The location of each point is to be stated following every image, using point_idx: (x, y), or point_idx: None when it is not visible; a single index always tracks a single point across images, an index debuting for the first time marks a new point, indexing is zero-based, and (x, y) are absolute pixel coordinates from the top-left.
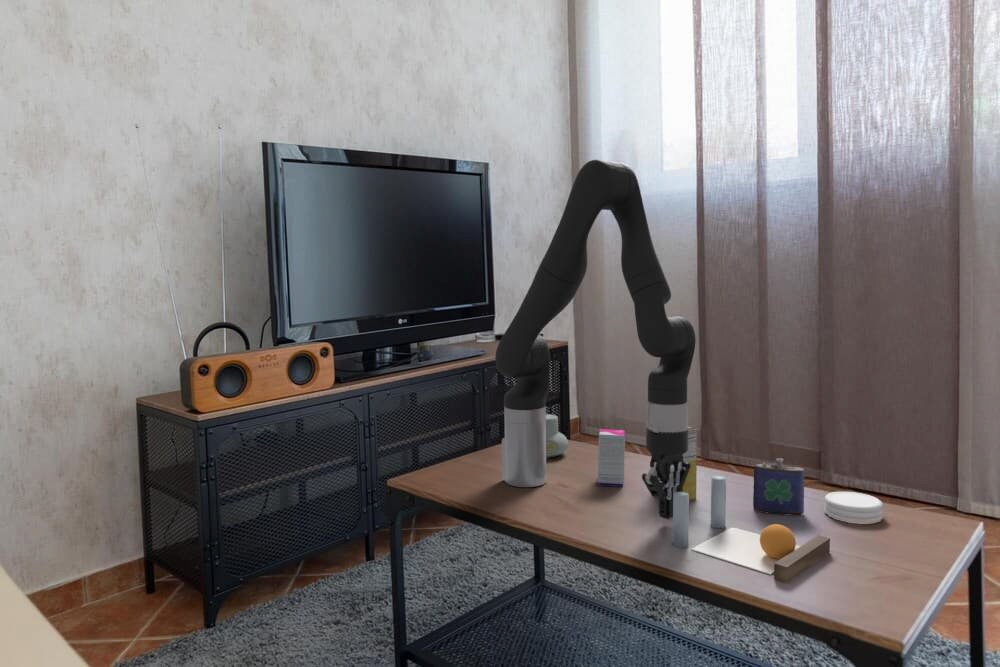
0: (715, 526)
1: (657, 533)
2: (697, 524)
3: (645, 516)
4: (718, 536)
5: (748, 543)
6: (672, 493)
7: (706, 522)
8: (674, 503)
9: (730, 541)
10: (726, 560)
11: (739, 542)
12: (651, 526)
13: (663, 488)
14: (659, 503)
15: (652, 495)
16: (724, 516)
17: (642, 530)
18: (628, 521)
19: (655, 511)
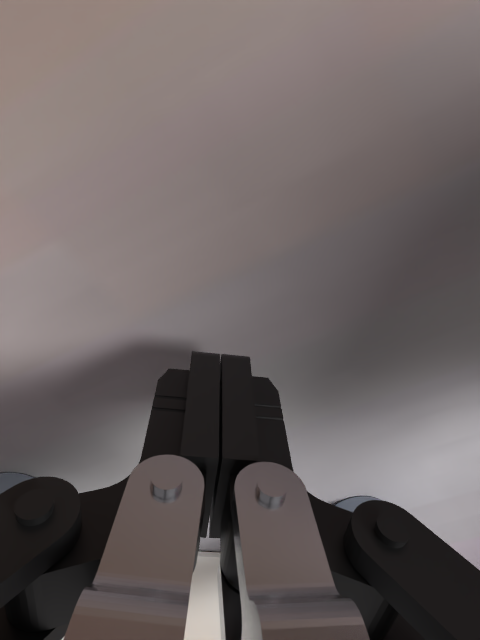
0: None
1: (59, 366)
2: (327, 456)
3: (292, 161)
4: (217, 564)
5: (217, 634)
6: (220, 591)
7: (378, 473)
8: None
9: (194, 601)
10: None
11: (206, 618)
12: (134, 290)
13: (238, 549)
14: (147, 436)
15: (6, 502)
16: None
17: (27, 277)
18: (100, 97)
19: (440, 174)
